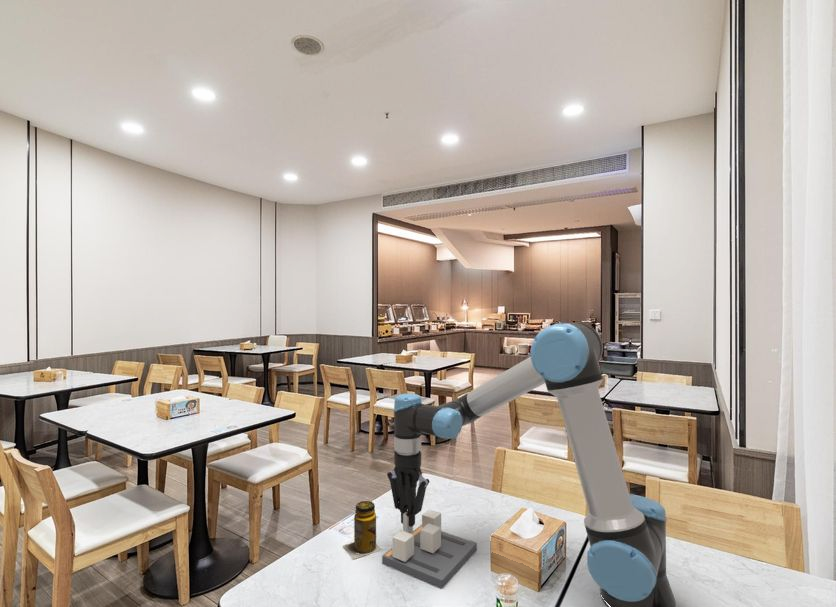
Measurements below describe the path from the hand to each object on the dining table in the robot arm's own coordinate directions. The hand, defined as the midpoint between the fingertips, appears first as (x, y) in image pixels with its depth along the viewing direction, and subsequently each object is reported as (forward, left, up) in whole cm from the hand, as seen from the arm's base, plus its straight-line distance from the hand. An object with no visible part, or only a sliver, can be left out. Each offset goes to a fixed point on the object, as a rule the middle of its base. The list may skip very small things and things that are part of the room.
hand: (408, 536), depth 117 cm
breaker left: (-3, +7, -1) cm, 8 cm away
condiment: (+11, +7, -4) cm, 13 cm away
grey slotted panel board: (-7, 0, -3) cm, 8 cm away
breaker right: (-3, -7, -1) cm, 8 cm away
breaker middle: (-7, 0, -1) cm, 7 cm away
